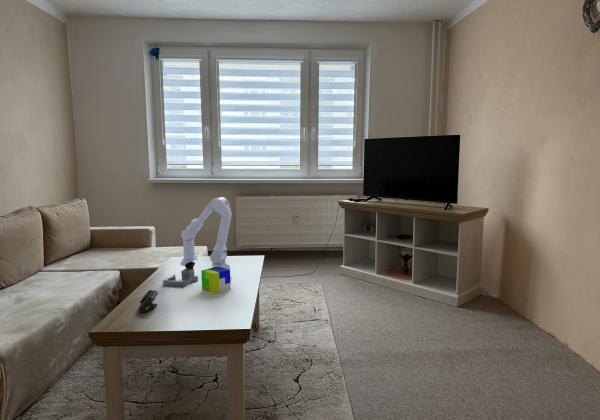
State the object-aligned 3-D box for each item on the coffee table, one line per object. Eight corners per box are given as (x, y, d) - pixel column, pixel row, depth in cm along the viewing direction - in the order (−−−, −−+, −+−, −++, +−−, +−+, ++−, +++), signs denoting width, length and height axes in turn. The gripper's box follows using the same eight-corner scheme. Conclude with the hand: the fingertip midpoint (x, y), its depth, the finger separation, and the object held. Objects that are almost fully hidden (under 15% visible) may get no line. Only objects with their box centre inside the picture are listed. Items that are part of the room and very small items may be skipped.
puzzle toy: (230, 289, 207) (230, 269, 206) (213, 294, 199) (213, 273, 198) (218, 285, 214) (218, 266, 212) (202, 289, 206) (201, 270, 205)
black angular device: (154, 307, 186) (140, 299, 185) (164, 293, 186) (151, 285, 184) (147, 320, 175) (133, 311, 173) (158, 304, 174) (144, 296, 172)
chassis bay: (173, 278, 226) (173, 273, 226) (198, 280, 223) (198, 274, 222) (160, 285, 214) (159, 279, 214) (186, 287, 211) (186, 281, 210)
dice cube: (194, 277, 228) (194, 268, 227) (190, 280, 223) (189, 271, 222) (186, 277, 229) (185, 268, 228) (181, 280, 224) (181, 271, 223)
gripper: (189, 248, 235) (190, 271, 237) (175, 253, 222) (176, 278, 223) (200, 248, 234) (201, 272, 235) (187, 254, 220) (188, 279, 221)
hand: (189, 275), depth 229 cm, fingers closed, pressing on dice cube
